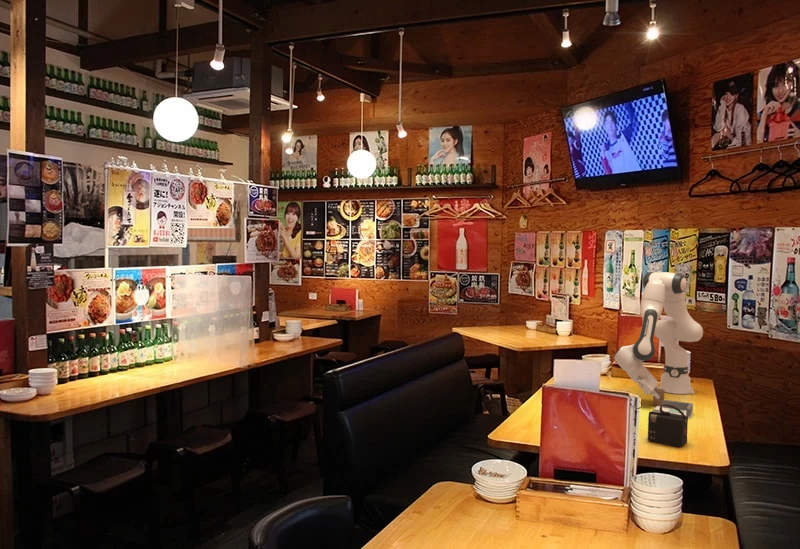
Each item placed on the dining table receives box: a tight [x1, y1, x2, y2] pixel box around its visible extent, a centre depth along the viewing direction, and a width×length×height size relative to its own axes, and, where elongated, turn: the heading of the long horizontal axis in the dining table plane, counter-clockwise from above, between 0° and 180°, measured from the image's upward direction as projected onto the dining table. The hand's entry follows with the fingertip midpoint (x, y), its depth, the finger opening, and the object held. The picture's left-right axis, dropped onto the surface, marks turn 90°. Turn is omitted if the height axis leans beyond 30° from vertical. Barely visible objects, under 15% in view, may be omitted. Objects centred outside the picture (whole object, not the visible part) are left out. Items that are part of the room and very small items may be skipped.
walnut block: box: [652, 388, 666, 407], centre depth 317 cm, size 4×4×8 cm
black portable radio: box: [647, 404, 689, 448], centre depth 258 cm, size 11×14×15 cm
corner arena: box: [654, 399, 694, 420], centre depth 303 cm, size 12×16×4 cm
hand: (660, 396), depth 317 cm, fingers closed on walnut block, 4 cm apart
